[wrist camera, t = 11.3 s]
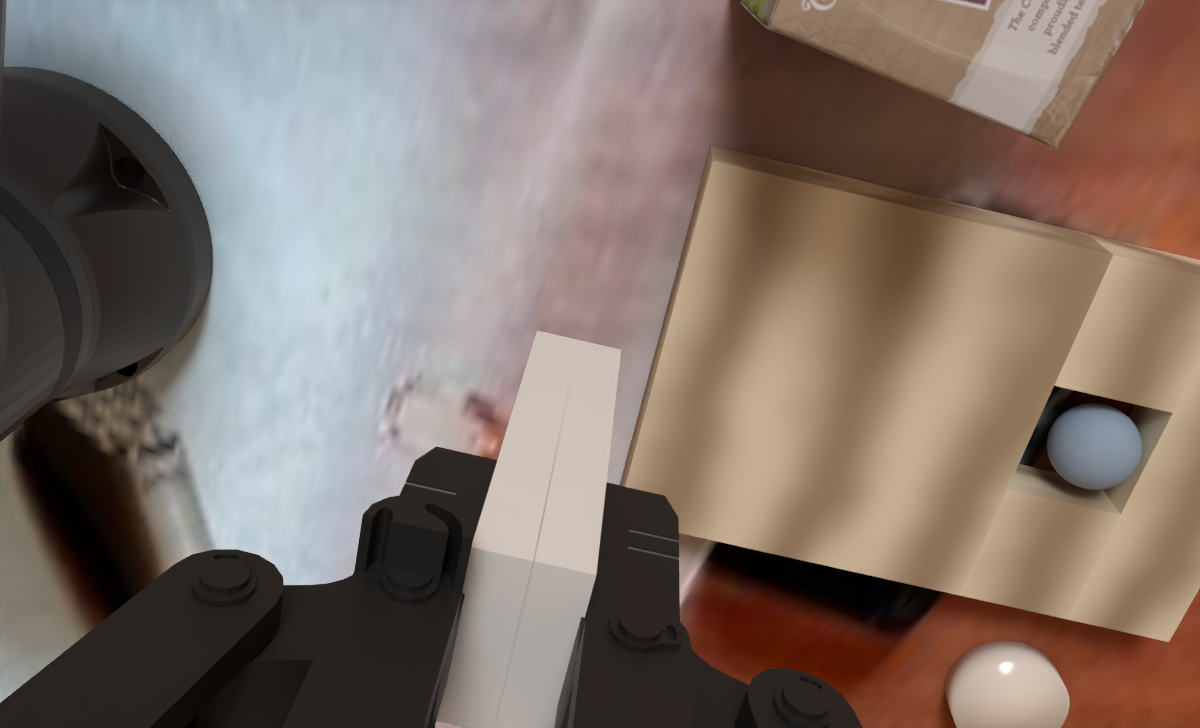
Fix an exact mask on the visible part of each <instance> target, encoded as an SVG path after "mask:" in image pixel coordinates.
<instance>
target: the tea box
mask: <svg viewBox="0 0 1200 728" xmlns="http://www.w3.org/2000/svg"><path fill="white" fill-rule="evenodd" d="M739 2H740V3H741V4H742V5H743V6H744V8H745V9H746V10H747V11H749V13H750V14H751V15H752V16H753V17H754V18H755V19H756V20H757V21H758V22H759V23H760V24H761V25H762V26H764V27H765V28H766V29H768V30H770V31H773V32H776V33H779V34H781V35H784V36H786V37H789V38H791V39H794V40H796V41H799V42H801V43H803V44H806V45H808V46H811V47H813V48H815V49H818V50H820V51H823V52H825V53H827V54H830V55H832V56H835V57H837V58H839V59H842V60H844V61H847V62H849V63H851V64H854V65H856V66H858V67H861V68H863V69H865V70H868V71H870V72H873V73H875V74H877V75H880V76H882V77H884V78H887V79H889V80H892V81H894V82H896V83H899V84H901V85H904V86H906V87H908V88H911V89H913V90H916V91H918V92H920V93H923V94H925V95H927V96H930V97H932V98H935V99H937V100H940V101H942V102H945V103H947V104H949V105H952V106H954V107H957V108H959V109H962V110H964V111H967V112H969V113H972V114H974V115H976V116H979V117H981V118H984V119H986V120H989V121H991V122H994V123H996V124H998V125H1001V126H1003V127H1006V128H1008V129H1011V130H1013V131H1016V132H1018V133H1020V134H1023V135H1025V136H1027V137H1030V138H1032V139H1034V140H1037V141H1039V142H1041V143H1044V144H1046V145H1048V146H1051V147H1053V148H1058V146H1059V145H1060V144H1061V142H1062V140H1063V138H1064V137H1065V135H1066V134H1067V132H1068V131H1069V129H1070V127H1071V126H1072V124H1073V123H1074V121H1075V120H1076V118H1077V116H1078V115H1079V113H1080V112H1081V110H1082V108H1083V107H1084V105H1085V103H1086V102H1087V100H1088V98H1089V97H1090V95H1091V93H1092V92H1093V90H1094V88H1095V87H1096V85H1097V83H1098V82H1099V80H1100V78H1101V77H1102V75H1103V73H1104V71H1105V70H1106V68H1107V66H1108V64H1109V63H1110V61H1111V60H1112V58H1113V57H1114V55H1115V53H1116V52H1117V50H1118V48H1119V46H1120V44H1121V42H1122V40H1123V39H1124V37H1125V36H1126V34H1127V33H1128V31H1129V30H1130V28H1131V26H1132V23H1133V21H1134V19H1135V18H1136V16H1137V14H1138V13H1139V11H1140V10H1141V8H1142V6H1143V4H1144V2H1145V0H739Z"/></svg>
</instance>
